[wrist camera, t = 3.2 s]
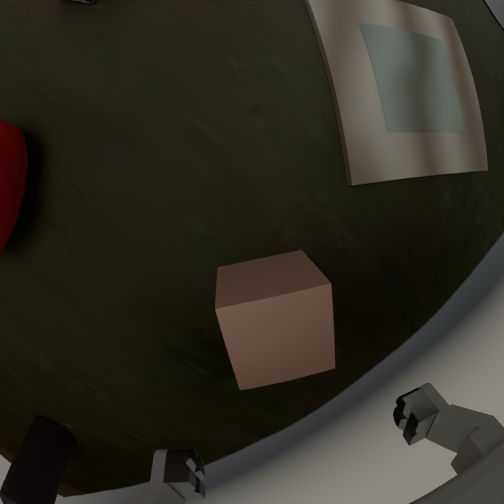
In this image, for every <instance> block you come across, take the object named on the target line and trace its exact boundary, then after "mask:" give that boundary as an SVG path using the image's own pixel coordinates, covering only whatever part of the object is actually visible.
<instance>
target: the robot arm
mask: <svg viewBox="0 0 504 504" xmlns="http://www.w3.org/2000/svg"><path fill="white" fill-rule="evenodd" d="M485 2H486V3H487V5H488V6H489V8H490V10H491V11H492V13H493V14H494V16H495V17H496V18H497V20H498V21H499V23H500V24H501V26H502V27H503V28H504V0H485ZM396 404H397V407H396V408H395V409H394V412H393V417H394V421H395V423H396V425H397V427H398V428H399V429H402V430H403V437H404V438H405V440H406V442H407V443H408V445H409V446H410V445H412V444H414V443H416V442H418V441H420V440H422V439H424V438H426V439H428V440H430V441H432V442H434V443H437V444H439V445H441V446H443V447H445V448H447V449H449V450H451V451H454V452H456V453H458V454H457V455H456V457H455V458H454V459H453V461H452V463H451V465H452V467H453V469H454V470H455V472H456V473H457V476H455V477H454V478H452V479H451V480H449V481H447V482H446V483H444V484H443V485H441V486H440V487H438V488H436V489H435V490H433V491H431V492H430V493H428V494H426V495H424V496H423V497H421V498H419V499H417V500H415V501H414V502H411V503H409V504H504V427H503V426H502V425H501V424H500V423H499V422H498V420H497V419H496V418H495V417H494V416H491V415H488V414H484V413H481V412H477V411H473V410H470V409H466V408H463V407H460V406H456V405H453V404H452V405H450V406H449V404H448V403H447V402H446V401H445V400H444V398H443V397H442V396H441V395H440V394H439V393H438V392H437V390H436V389H435V388H434V387H433V386H432V385H431V384H430V383H426V384H424V385H422V386H420V387H419V388H416V389H414V390H412V391H410V392H408V393H406V394H404V395H402V396H400V397H398V398H397V400H396ZM204 478H205V469H204V464H203V462H202V460H201V459H200V458H199V457H197V456H196V452H195V450H194V449H180V450H156V452H155V453H154V459H153V466H152V473H151V480H150V482H147V483H146V484H145V485H144V486H143V487H142V488H141V489H140V490H139V491H138V493H136V494H135V496H134V497H132V499H131V500H129V501H128V503H126V504H184V502H185V500H186V499H187V500H189V499H205V485H204V484H203V483H202V482H201V481H202V480H203V479H204Z"/></svg>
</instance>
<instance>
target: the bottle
mask: <svg viewBox="0 0 504 504" xmlns="http://www.w3.org/2000/svg"><path fill="white" fill-rule="evenodd" d="M73 448H74V440H73V438H72V437H71V436H70V434H69V433H68V432H67V431H66V430H65V429H63V428H62V427H61V426H59V425H58V424H56V423H55V422H53V421H51V420H49V419H47V418H44V417H36V418H35V419H34V420H33V422H32V424H31V426H30V428H29V430H28V431H27V433H26V435H25V437H24V439H23V441H22V443H21V445H20V447H19V449H18V451H17V453H16V455H15V457H14V460H13V462H12V464H11V466H10V468H9V471H8V473H7V475H6V478H5V480H4V482H3V485H2V487H1V490H0V497H1V499H2V502H3V504H55V500H56V497H57V494H58V491H59V488H60V485H61V482H62V479H63V476H64V473H65V470H66V467H67V464H68V462H69V459H70V456H71V454H72V451H73Z"/></svg>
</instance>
